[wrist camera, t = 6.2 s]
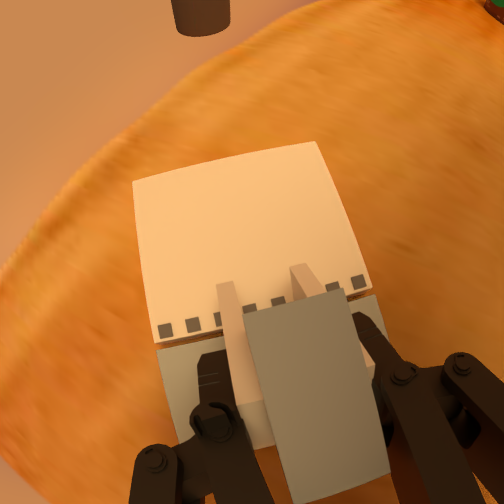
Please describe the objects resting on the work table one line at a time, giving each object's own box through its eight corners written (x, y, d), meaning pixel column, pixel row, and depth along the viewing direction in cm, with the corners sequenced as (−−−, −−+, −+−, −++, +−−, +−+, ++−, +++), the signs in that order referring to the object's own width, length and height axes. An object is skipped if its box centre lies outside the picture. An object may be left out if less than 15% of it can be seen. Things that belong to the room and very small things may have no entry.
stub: (163, 351, 17) (61, 331, 7) (366, 299, 18) (471, 228, 8) (188, 451, 15) (119, 538, 5) (393, 394, 16) (519, 408, 6)
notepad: (139, 192, 20) (131, 179, 19) (311, 154, 21) (315, 139, 20) (162, 344, 17) (153, 342, 16) (364, 293, 18) (374, 286, 16)
